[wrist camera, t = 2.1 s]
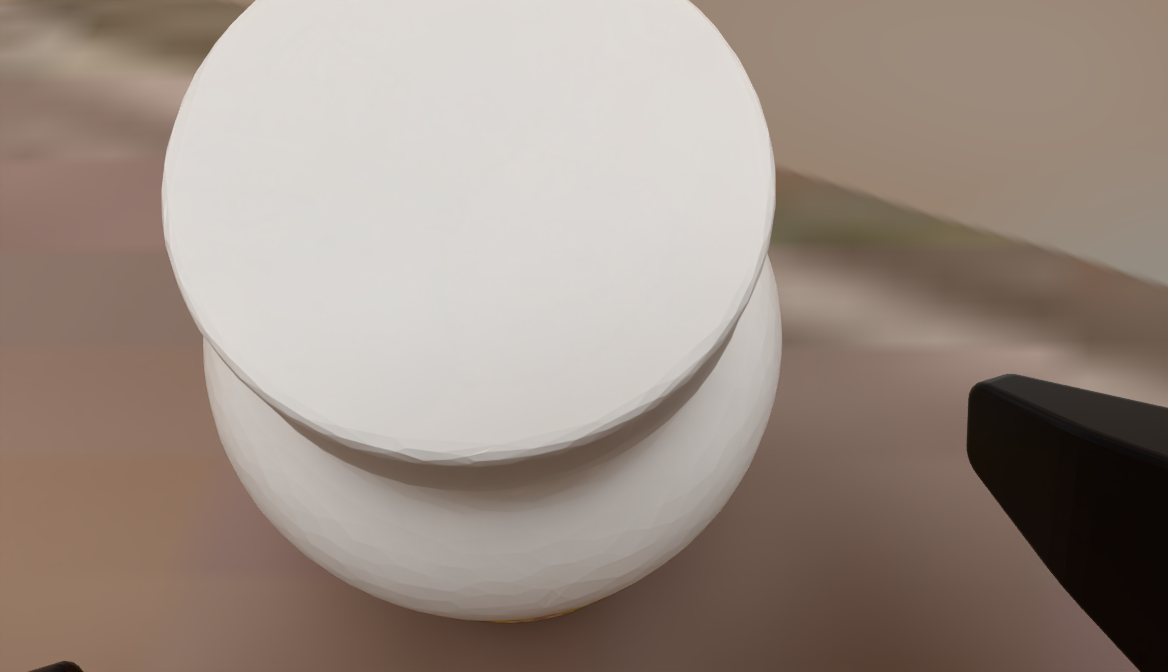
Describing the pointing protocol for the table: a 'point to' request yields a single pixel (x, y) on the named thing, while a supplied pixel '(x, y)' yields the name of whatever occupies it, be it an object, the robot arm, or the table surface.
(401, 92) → the supplement bottle
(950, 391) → the table surface
